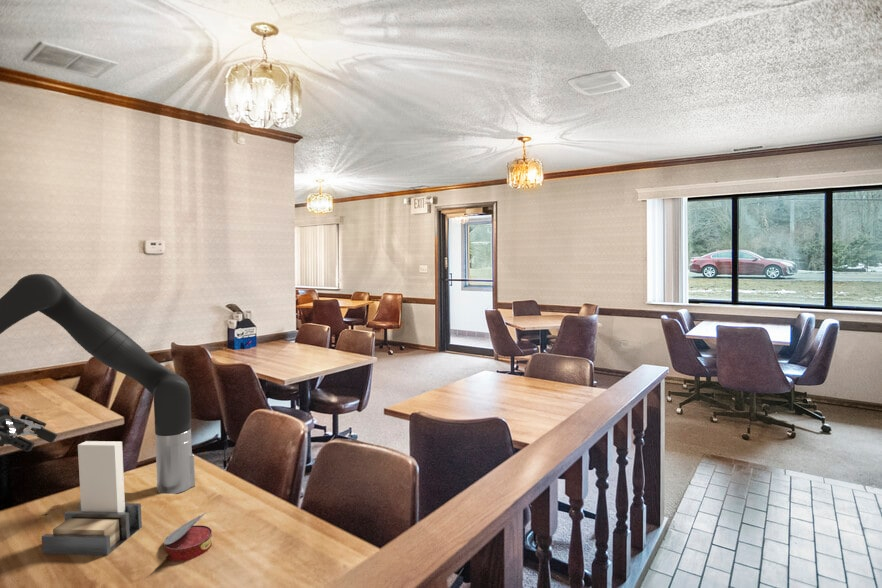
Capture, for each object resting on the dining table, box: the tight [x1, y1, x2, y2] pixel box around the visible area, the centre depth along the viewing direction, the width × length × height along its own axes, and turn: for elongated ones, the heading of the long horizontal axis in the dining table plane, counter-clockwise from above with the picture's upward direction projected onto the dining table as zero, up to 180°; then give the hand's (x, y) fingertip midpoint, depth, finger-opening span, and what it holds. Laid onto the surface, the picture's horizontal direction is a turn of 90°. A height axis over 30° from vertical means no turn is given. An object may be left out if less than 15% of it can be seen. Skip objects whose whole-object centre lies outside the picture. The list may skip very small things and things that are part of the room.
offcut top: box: [52, 518, 119, 536], centre depth 112 cm, size 12×5×2 cm, turn 87°
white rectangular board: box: [77, 440, 126, 512], centre depth 116 cm, size 9×2×22 cm, turn 87°
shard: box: [41, 503, 65, 518], centre depth 127 cm, size 11×8×2 cm
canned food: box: [163, 512, 213, 562], centre depth 113 cm, size 11×10×10 cm
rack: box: [41, 502, 143, 557], centre depth 114 cm, size 15×12×8 cm
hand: (43, 443), depth 116 cm, fingers open, 8 cm apart
